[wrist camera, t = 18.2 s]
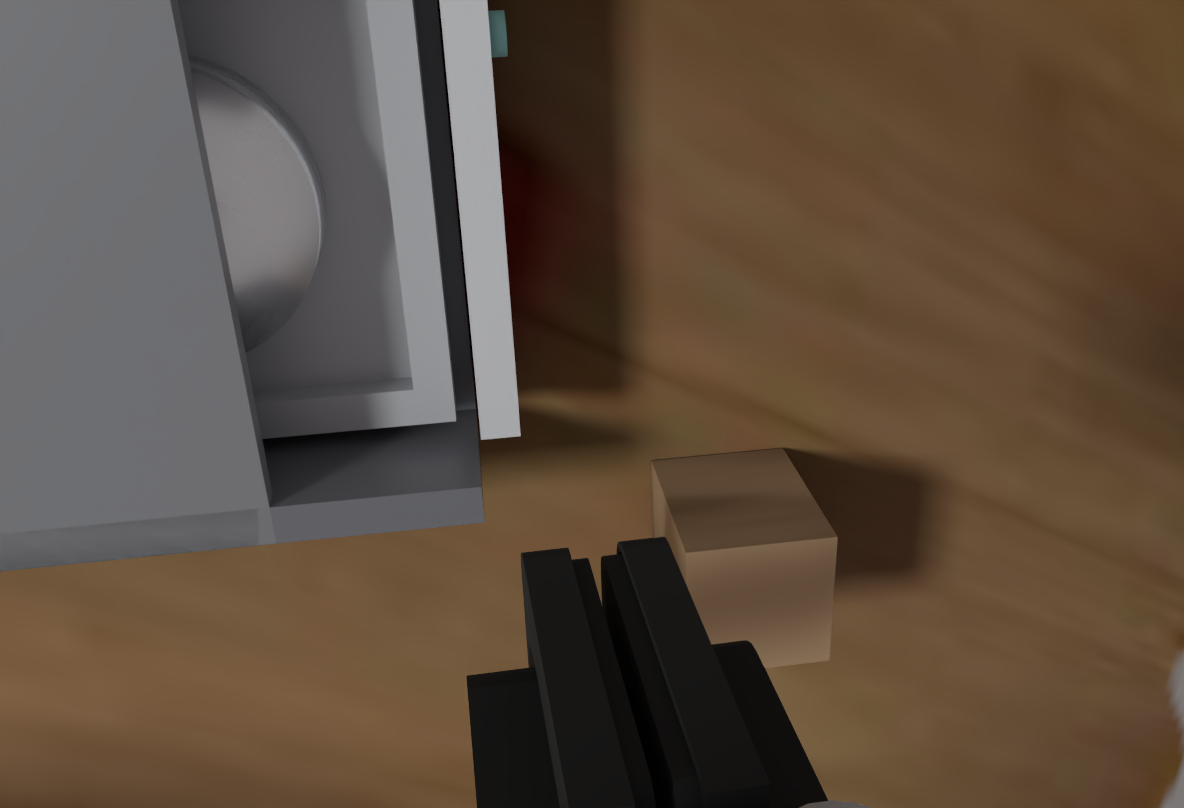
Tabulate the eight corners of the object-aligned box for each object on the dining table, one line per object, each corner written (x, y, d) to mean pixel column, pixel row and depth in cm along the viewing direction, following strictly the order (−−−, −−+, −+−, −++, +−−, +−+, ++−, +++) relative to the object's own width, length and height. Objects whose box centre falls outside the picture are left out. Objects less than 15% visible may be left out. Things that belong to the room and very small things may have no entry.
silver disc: (348, 325, 28) (341, 356, 26) (64, 355, 27) (35, 389, 25) (298, 38, 25) (286, 49, 23) (-23, 64, 24) (-62, 78, 22)
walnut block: (778, 559, 34) (829, 660, 30) (653, 573, 34) (686, 677, 29) (782, 447, 32) (837, 536, 28) (651, 460, 32) (685, 552, 28)
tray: (528, 389, 30) (536, 434, 27) (-3, 436, 28) (-45, 489, 26) (494, -89, 25) (500, -88, 22) (-157, -59, 23) (-229, -54, 21)
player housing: (478, 431, 31) (484, 522, 26) (-35, 478, 30) (-119, 583, 25) (421, -159, 24) (417, -171, 20) (-238, -133, 23) (-401, -140, 19)
